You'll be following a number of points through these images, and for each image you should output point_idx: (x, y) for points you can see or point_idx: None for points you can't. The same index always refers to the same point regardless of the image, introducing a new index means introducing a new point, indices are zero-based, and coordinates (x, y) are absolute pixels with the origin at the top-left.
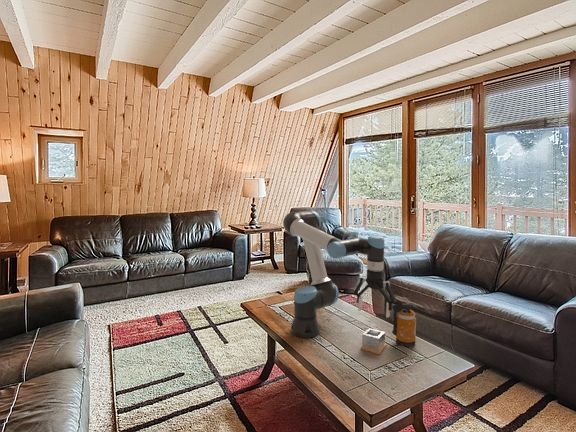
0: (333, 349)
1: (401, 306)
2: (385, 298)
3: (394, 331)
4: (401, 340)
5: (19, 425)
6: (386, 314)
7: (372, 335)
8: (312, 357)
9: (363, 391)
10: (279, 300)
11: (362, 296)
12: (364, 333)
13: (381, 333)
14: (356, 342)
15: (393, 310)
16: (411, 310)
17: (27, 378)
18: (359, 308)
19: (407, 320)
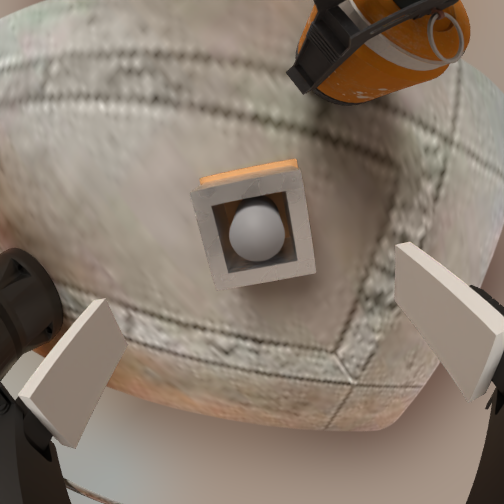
0: (159, 333)
1: (433, 3)
2: (483, 464)
3: (315, 86)
4: (352, 102)
5: None
6: (410, 316)
7: (268, 266)
8: (163, 396)
9: (356, 411)
10: None
11: (31, 395)
12: (219, 277)
13: (294, 204)
14: (171, 228)
15: (350, 43)
16: None
17: (76, 490)
18: (116, 359)
19: (437, 69)
